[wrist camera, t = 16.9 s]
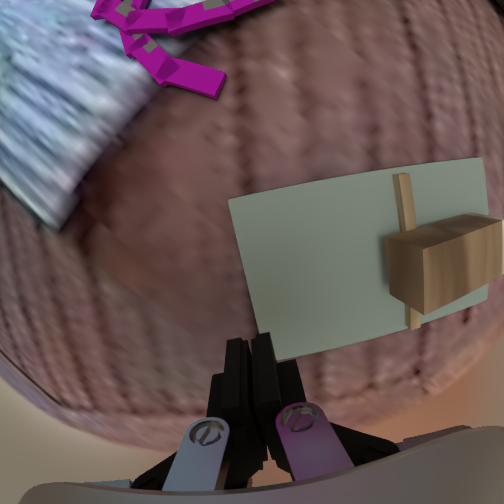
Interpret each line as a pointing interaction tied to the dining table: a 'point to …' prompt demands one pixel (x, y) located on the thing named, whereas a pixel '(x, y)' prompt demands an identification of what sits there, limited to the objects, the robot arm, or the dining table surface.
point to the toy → (175, 23)
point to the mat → (342, 252)
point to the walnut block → (445, 260)
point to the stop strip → (406, 228)
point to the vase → (501, 3)
